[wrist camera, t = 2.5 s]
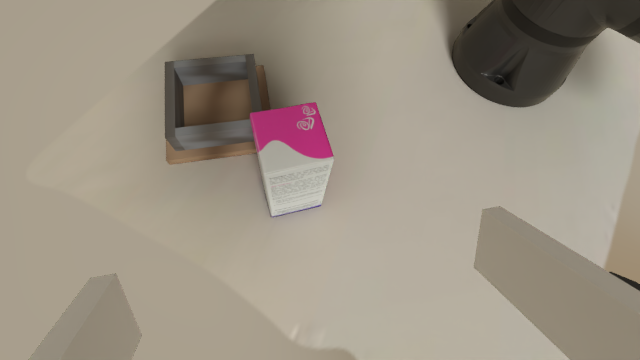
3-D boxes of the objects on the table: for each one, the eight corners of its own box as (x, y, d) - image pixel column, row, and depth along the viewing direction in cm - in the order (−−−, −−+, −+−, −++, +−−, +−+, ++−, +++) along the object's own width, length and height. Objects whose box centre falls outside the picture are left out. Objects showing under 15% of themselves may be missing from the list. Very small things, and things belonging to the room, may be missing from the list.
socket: (264, 70, 40) (260, 47, 36) (276, 150, 36) (274, 132, 32) (169, 79, 38) (155, 56, 35) (169, 164, 34) (154, 147, 30)
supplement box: (323, 205, 33) (336, 160, 23) (270, 218, 33) (258, 177, 22) (310, 160, 36) (316, 99, 25) (260, 171, 35) (244, 112, 24)
